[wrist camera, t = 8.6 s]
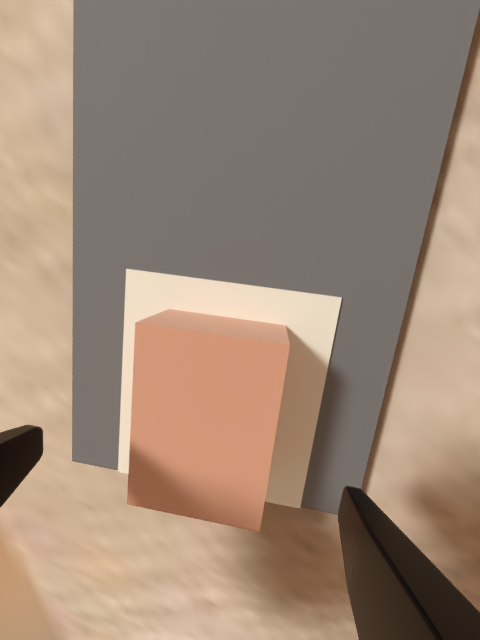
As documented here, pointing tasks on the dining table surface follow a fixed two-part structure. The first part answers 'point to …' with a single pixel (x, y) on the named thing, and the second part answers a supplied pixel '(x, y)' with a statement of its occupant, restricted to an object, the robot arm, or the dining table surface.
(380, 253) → the mat
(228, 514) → the card deck
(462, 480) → the dining table surface
